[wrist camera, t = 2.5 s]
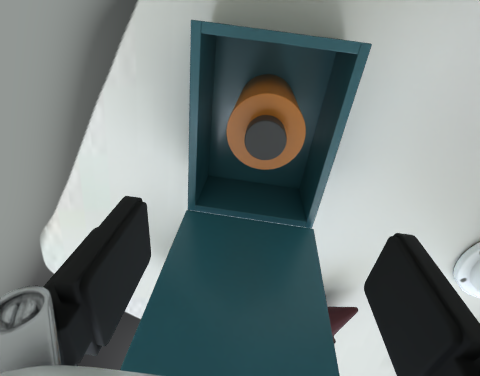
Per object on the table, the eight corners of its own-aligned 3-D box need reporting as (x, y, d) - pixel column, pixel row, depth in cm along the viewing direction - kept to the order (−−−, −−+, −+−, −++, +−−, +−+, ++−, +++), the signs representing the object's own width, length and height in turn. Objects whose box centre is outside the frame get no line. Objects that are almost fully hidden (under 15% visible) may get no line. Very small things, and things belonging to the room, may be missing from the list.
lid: (87, 446, 13) (91, 450, 14) (360, 493, 13) (354, 495, 13) (186, 209, 28) (186, 215, 29) (313, 228, 28) (311, 234, 28)
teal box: (210, 23, 26) (190, 19, 20) (345, 41, 26) (372, 43, 19) (203, 176, 35) (187, 210, 29) (303, 191, 35) (312, 228, 28)
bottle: (281, 63, 27) (288, 80, 17) (302, 116, 29) (320, 159, 19) (229, 90, 29) (208, 122, 18) (253, 138, 31) (246, 189, 21)
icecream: (342, 309, 37) (265, 339, 44) (375, 346, 37) (294, 369, 45) (341, 276, 43) (274, 307, 50) (370, 308, 43) (299, 334, 51)
